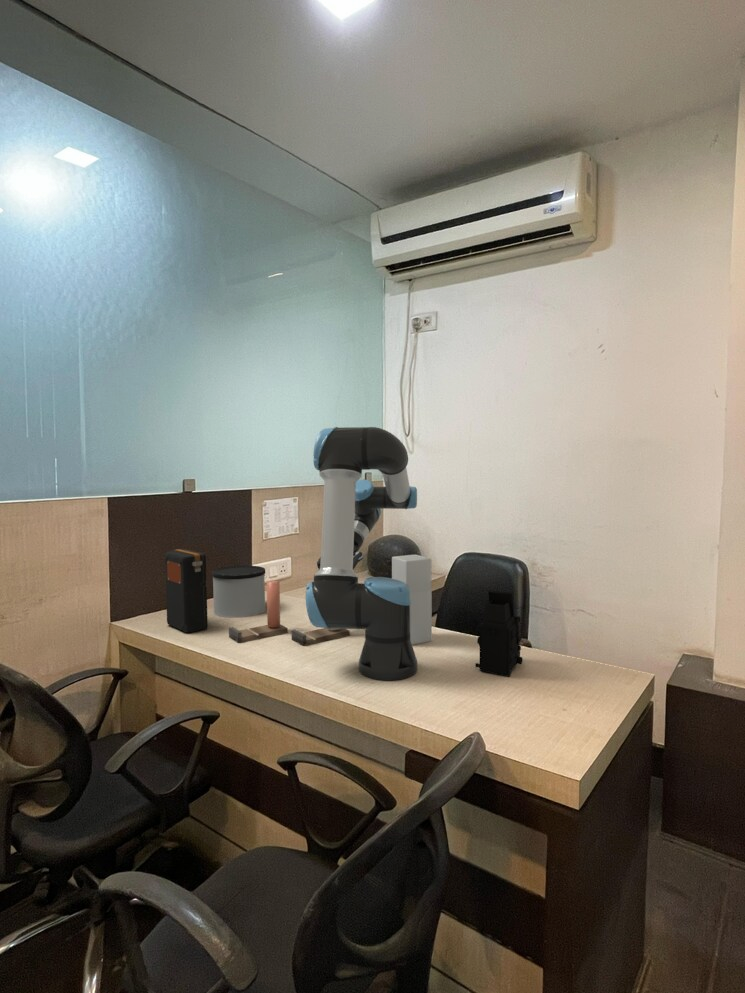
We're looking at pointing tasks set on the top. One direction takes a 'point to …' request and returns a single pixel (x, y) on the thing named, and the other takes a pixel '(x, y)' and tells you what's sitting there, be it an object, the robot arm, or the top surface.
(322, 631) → the brown wooden board
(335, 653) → the top surface
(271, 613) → the terracotta plug
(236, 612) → the container
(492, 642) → the camera
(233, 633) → the brown base
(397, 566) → the tall white carton
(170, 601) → the voltmeter
